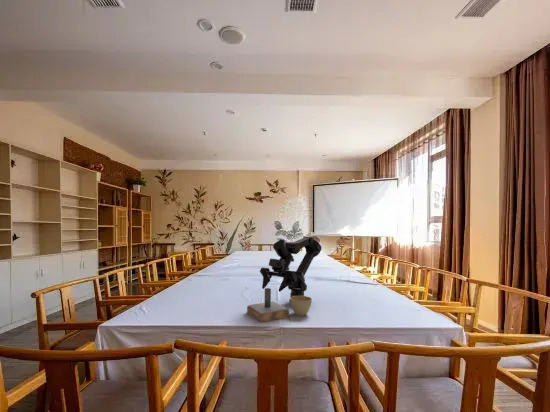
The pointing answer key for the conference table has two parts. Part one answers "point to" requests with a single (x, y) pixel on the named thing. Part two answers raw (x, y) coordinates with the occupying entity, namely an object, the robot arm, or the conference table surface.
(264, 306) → the cover
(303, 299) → the flower pot
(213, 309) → the conference table surface
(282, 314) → the stand
